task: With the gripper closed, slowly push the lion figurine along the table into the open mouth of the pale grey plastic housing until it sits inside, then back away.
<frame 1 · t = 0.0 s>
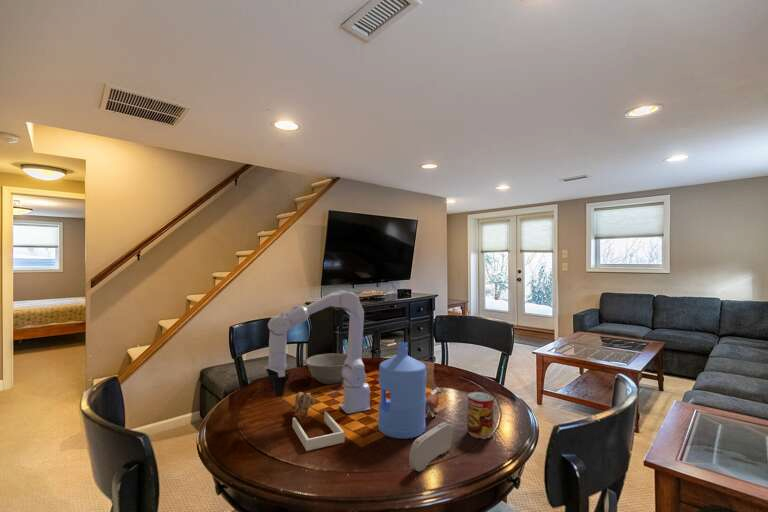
hand: (276, 392, 121), 10 cm above the table, tool pointing down, fingers open, 7 cm apart
housing: (316, 433, 114), on the table
ceramic bowl: (330, 381, 165), on the table
bull figurine: (432, 414, 130), on the table
grey rounded slab: (432, 461, 100), on the table
canned food: (480, 434, 116), on the table
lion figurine: (302, 414, 128), on the table
water jug: (401, 429, 118), on the table
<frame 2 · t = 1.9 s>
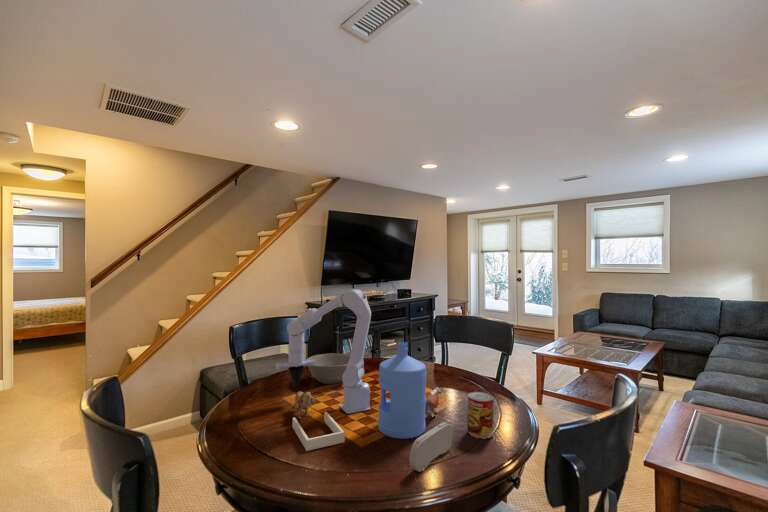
hand: (295, 386, 138), 7 cm above the table, tool pointing down, fingers closed
nothing on the table moved.
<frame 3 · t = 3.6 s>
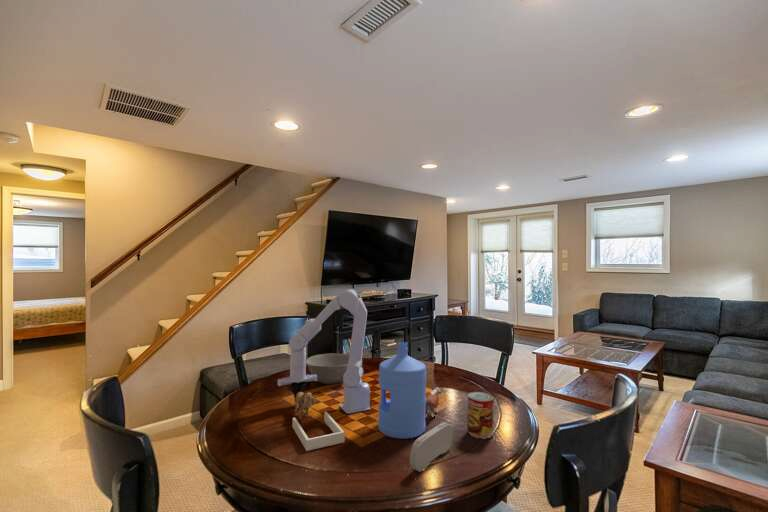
hand: (297, 402, 136), 1 cm above the table, tool pointing down, fingers closed
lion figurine: (303, 414, 128), on the table, touching gripper
everything else where it was.
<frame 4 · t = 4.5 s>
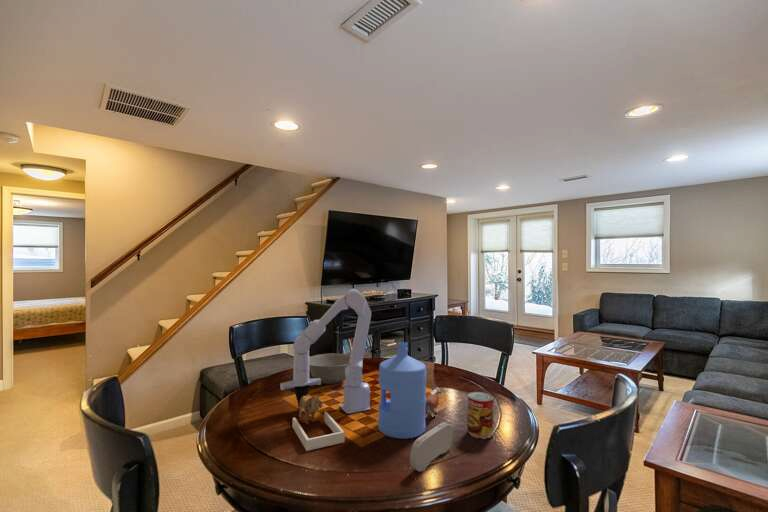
hand: (300, 406, 131), 1 cm above the table, tool pointing down, fingers closed
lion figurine: (308, 419, 125), on the table, touching gripper
everything else where it was.
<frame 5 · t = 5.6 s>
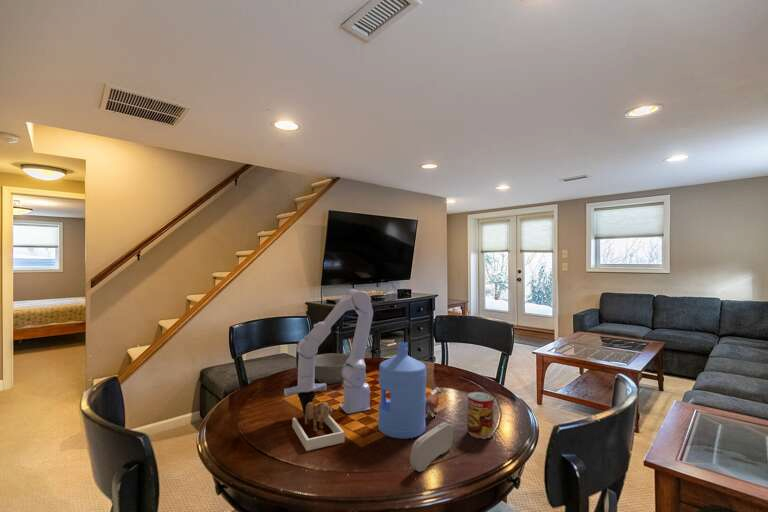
hand: (305, 413, 126), 1 cm above the table, tool pointing down, fingers closed, pressing on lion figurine
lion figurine: (315, 426, 119), on the table, touching gripper
everything else where it was.
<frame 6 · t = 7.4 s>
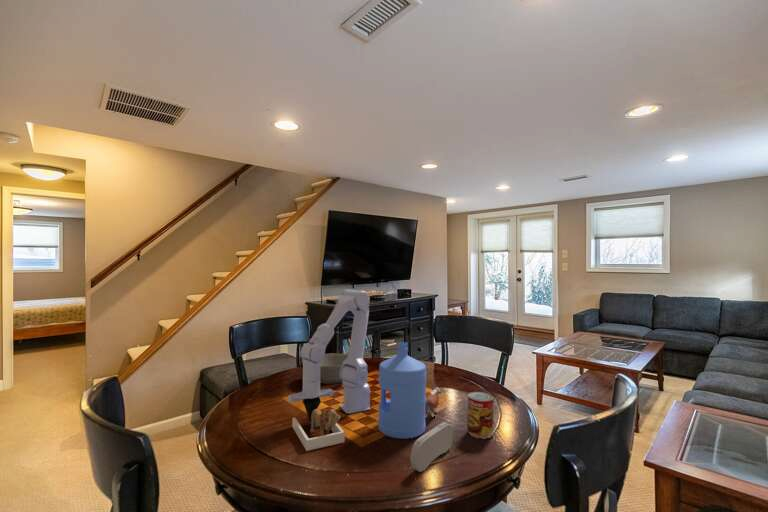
hand: (310, 420, 120), 1 cm above the table, tool pointing down, fingers closed, pressing on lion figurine
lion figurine: (322, 434, 114), on the table, touching gripper
everything else where it was.
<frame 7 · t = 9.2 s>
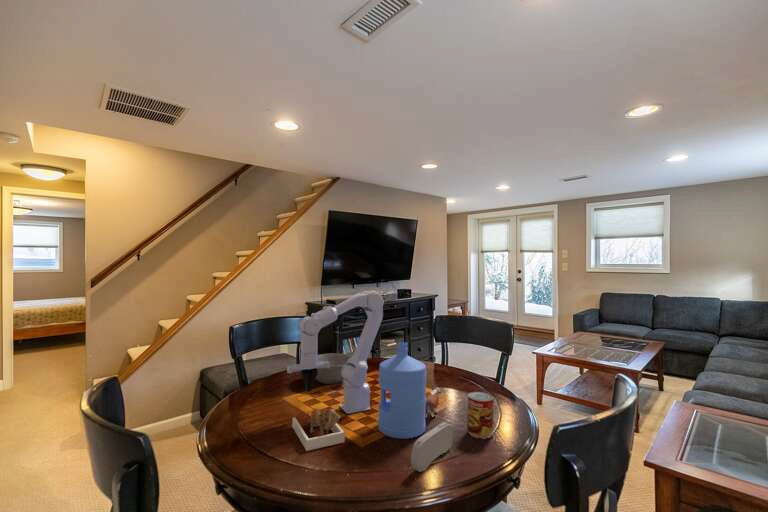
hand: (308, 390, 125), 9 cm above the table, tool pointing down, fingers closed
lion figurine: (322, 434, 114), on the table
everything else where it was.
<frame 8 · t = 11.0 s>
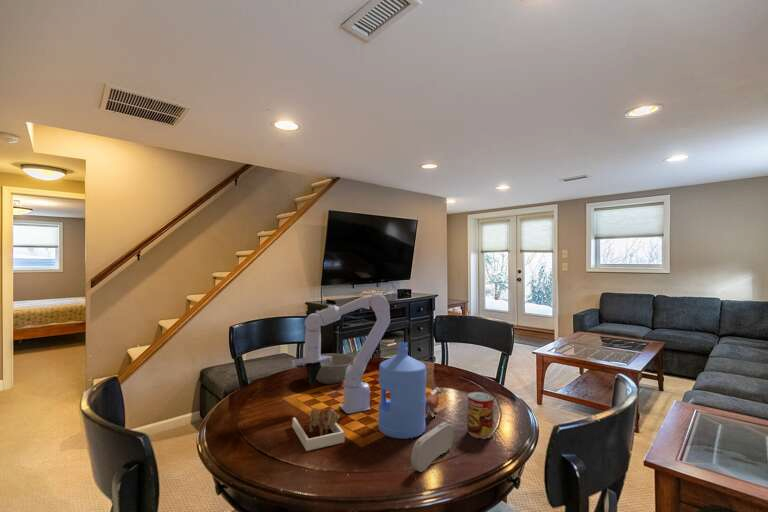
hand: (312, 383, 133), 9 cm above the table, tool pointing down, fingers closed
nothing on the table moved.
at the end: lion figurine inside the target area on the housing (1.5 cm from its centre), point 0.0 cm above the housing's base; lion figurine tilted 0°; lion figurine moved 16.5 cm from its start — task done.
